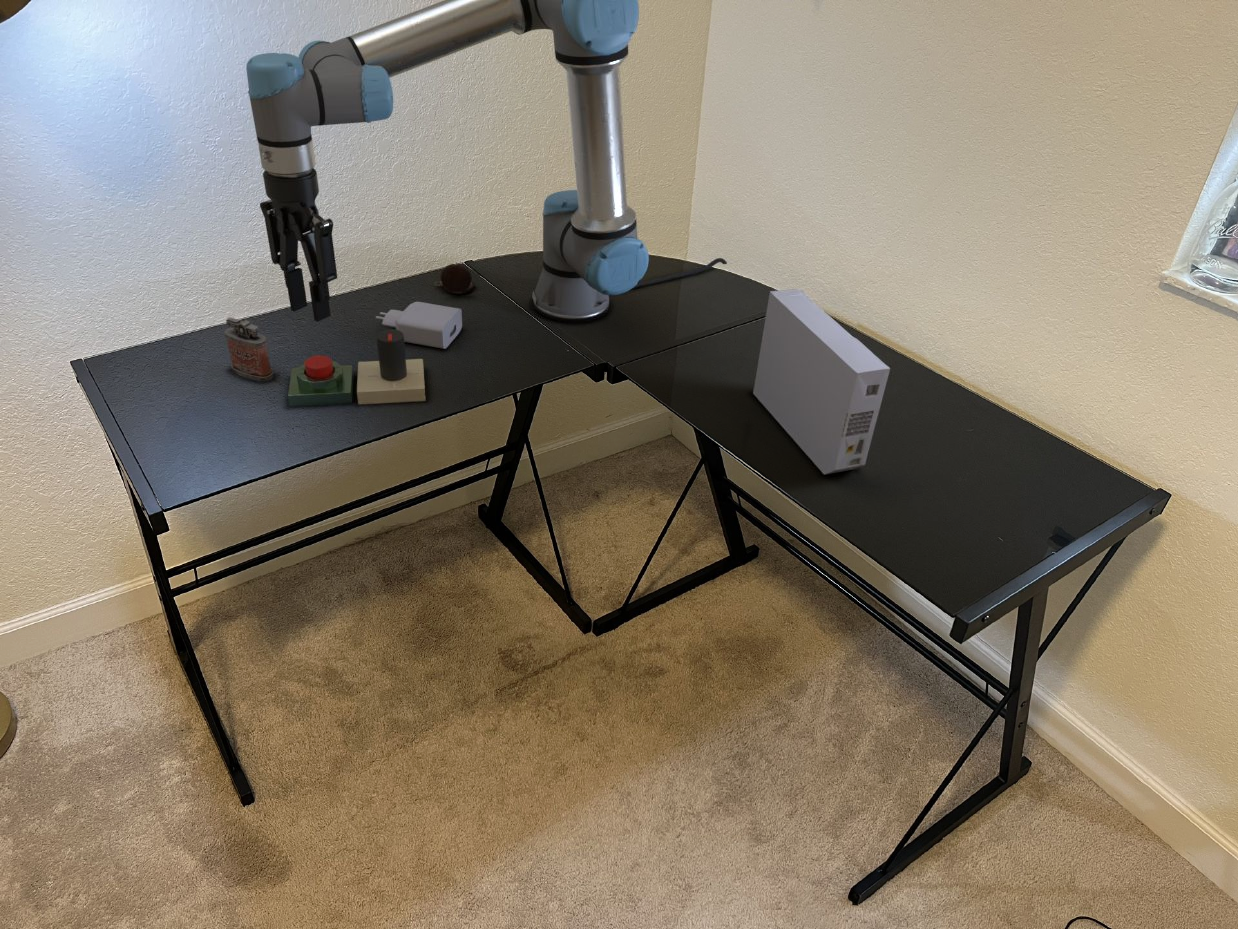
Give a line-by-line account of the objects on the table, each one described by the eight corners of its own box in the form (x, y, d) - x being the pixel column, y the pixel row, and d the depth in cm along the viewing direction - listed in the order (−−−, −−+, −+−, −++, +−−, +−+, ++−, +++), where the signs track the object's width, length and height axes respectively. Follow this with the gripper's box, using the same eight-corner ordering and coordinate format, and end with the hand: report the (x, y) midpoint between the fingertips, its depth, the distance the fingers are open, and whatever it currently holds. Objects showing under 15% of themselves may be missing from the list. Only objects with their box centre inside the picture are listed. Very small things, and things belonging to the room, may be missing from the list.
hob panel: (423, 370, 167) (422, 357, 166) (425, 401, 159) (424, 387, 158) (359, 374, 165) (358, 360, 164) (358, 404, 157) (356, 391, 156)
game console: (781, 389, 169) (800, 287, 157) (863, 477, 149) (891, 368, 137) (752, 393, 167) (769, 291, 156) (831, 483, 147) (857, 373, 135)
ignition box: (353, 375, 165) (351, 355, 162) (352, 403, 158) (349, 382, 155) (293, 378, 163) (290, 358, 160) (289, 406, 156) (285, 386, 153)
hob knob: (380, 368, 162) (376, 328, 158) (406, 367, 163) (403, 326, 158) (380, 381, 159) (376, 340, 154) (407, 380, 160) (403, 339, 155)
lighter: (277, 375, 163) (268, 323, 158) (264, 383, 161) (254, 331, 155) (241, 363, 166) (231, 311, 160) (227, 371, 163) (216, 319, 158)
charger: (389, 316, 183) (462, 328, 181) (368, 337, 176) (443, 351, 173) (387, 293, 180) (461, 306, 178) (365, 314, 173) (442, 328, 170)
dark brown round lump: (474, 282, 197) (473, 249, 193) (471, 299, 191) (470, 265, 187) (436, 280, 197) (434, 247, 192) (431, 297, 190) (429, 264, 186)
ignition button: (334, 365, 160) (332, 354, 159) (332, 378, 157) (331, 368, 156) (307, 366, 159) (305, 356, 158) (305, 380, 156) (303, 369, 155)
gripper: (227, 161, 139) (254, 304, 153) (311, 190, 131) (331, 338, 145) (269, 149, 144) (291, 289, 158) (351, 177, 137) (367, 321, 150)
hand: (310, 312), depth 152 cm, fingers open, 5 cm apart
